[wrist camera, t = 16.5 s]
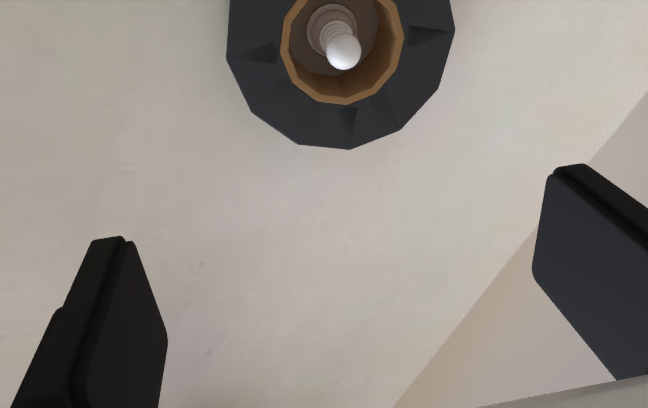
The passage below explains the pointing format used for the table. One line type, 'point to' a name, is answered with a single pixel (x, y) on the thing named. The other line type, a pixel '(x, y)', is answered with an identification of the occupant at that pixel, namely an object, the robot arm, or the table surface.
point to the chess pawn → (334, 35)
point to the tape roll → (345, 89)
